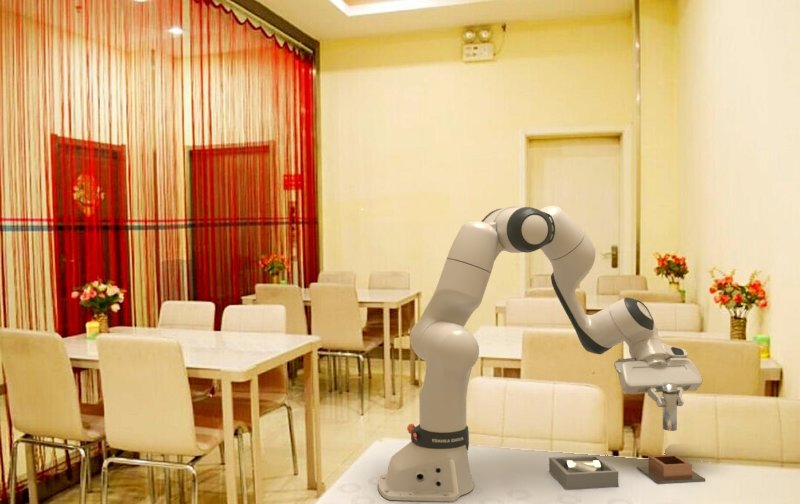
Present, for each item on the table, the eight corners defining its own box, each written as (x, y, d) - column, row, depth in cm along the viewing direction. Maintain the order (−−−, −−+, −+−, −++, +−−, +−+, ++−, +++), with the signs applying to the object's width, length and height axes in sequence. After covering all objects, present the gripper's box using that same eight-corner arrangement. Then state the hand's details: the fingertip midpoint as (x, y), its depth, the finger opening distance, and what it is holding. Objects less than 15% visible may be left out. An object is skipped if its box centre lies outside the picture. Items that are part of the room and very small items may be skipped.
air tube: (666, 431, 152) (666, 385, 152) (659, 427, 156) (659, 382, 155) (679, 430, 153) (679, 385, 153) (672, 426, 156) (672, 382, 156)
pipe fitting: (605, 485, 150) (597, 472, 157) (605, 469, 150) (597, 457, 156) (571, 485, 150) (564, 472, 157) (571, 469, 150) (564, 457, 157)
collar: (657, 484, 149) (657, 468, 149) (636, 468, 159) (636, 454, 159) (705, 481, 150) (705, 466, 150) (681, 466, 160) (681, 452, 160)
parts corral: (566, 489, 146) (566, 474, 146) (549, 471, 157) (549, 457, 157) (618, 486, 147) (618, 471, 147) (597, 468, 159) (597, 455, 159)
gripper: (616, 352, 159) (634, 400, 150) (692, 349, 162) (715, 396, 152) (608, 366, 164) (626, 413, 155) (682, 363, 166) (704, 410, 157)
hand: (671, 405), depth 153 cm, fingers closed on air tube, 3 cm apart
